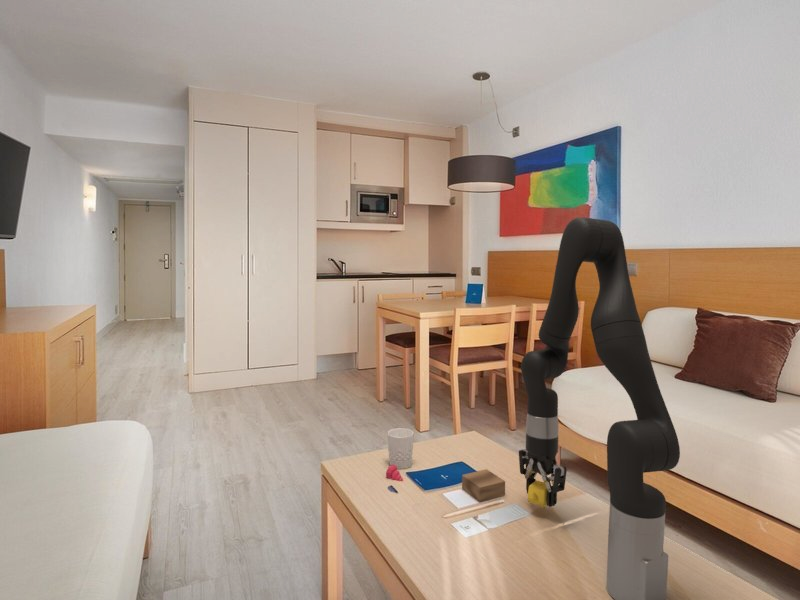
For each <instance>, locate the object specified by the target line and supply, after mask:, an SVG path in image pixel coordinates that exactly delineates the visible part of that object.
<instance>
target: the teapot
mask: <svg viewBox="0 0 800 600" xmlns="http://www.w3.org/2000/svg"><path fill="white" fill-rule="evenodd" d="M547 491H548V490H547V487H546V483H545V482H544V481H540V480H537V479H536V481H535V482H533V483H532V484H531V485H530V486H529V489H528V494H527V502H528V503H530V505H532V506H533V505H536V506H539V507H541V508H542V509H543V508H545V507H546V506H547Z"/></svg>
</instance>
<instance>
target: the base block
mask: <svg viewBox="0 0 800 600" xmlns="http://www.w3.org/2000/svg"><path fill="white" fill-rule="evenodd" d="M461 489H462V490H464V491H465V492H466V493H468V494H469V495H470V496H471V497H473V498H474V499H475V500H477V501H478V502H479V503H481V502H484V503H486V502H485V501H488V500H492V499H495V500H497V499H496V498H499V497H503V496H506V481H505V480H504V479H502V478H501V477H500V476H498V475H497V474H494V473H493V472H492V471H490V470H489V469H482V470H477V471H473V472H469V473H465V474H464V473H463V474H462V475H461ZM462 490H461V491H462ZM465 492H464V493H465ZM466 493H465V494H466ZM469 495H468V496H469ZM470 496H469V497H470ZM471 497H470V498H471ZM503 498H504V497H503ZM474 499H473V500H474ZM499 499H500V498H499ZM475 500H474V501H475ZM492 501H493V500H492ZM478 502H477V503H478ZM488 502H489V501H488ZM479 503H478V504H479ZM481 504H482V503H481Z"/></svg>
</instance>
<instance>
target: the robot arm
mask: <svg viewBox="0 0 800 600" xmlns="http://www.w3.org/2000/svg"><path fill="white" fill-rule="evenodd" d="M626 255H627V254H626V249H625V243H624V238H623V234H622V231H621V229H620V228H619V226H618V225H617V224H616V223H615V222H613V221H610V220H608V219H607V220H606V219H601V218H600V219H598V218H591V217H583V216H582V217H580V216H579V217H576V218H573V219H571V220H570V221H569V222H568V224H566V227H564V230H563V233H562V237H561V239H560V244H559V249H558V254H557V260H556V265H555V270H554V277H553V282H552V289H551V293H550V298H549V302H548V305H547V308H546V311H545V314H544V316H543V319H542V322H541V324H540V328H539V330H538V338H539V340H540V342H542V344H544V345H545V348H544V349H540V350H539V349H538V350H531V351H528V352H526V353H525V354H524V356H523V357H522V360H521V364H520V371H521V376H522V379H523V383H524V387H525V391H526V394H527V395H526V396H527V410H526V411H527V415H526V421H525V448H524V449H520V450H518V460H519V463H518V464H519V473H520V474H521V475H524V478H525V480H526V481H525V482H526V483H525V489H526V494H527V495H528V489H529V486H530V485H531V484H532V483H533V482H535V481H536V480H537V479H536V476H537V474H539V475H540V476H541V477H542V478H541V479H542V482H545V483H546V487H547V490H548V491H547V505H546V506H547V507H549V508H552V507H555V506H556V504H557V503H558V500H557V499H558V498H557V497H558V493H559V492H562V491H565V489H566V488H565V486H566V479H567V471H568V470H567V467H566V466H563V465H562V466H561V465H559V464H558V463H557V459H556V456H557V455H558V452H559V417H558V416H559V415H558V413H559V407H558V406H559V396H558V393H557V392H556V390H554V389H553V388H552V389H551V388H548V387H547V385H546V380H549V379H551V380H552V379H556V378H559V377H560V376H561V375H562V374H563V373H564V371H565V370H566V368H567V365H568V360H569V359H568V357H569V349H570V348H569V346H570V345H569V343H570V340H571V337H572V335H573V333H574V330H575V326H576V324H577V321H578V317H579V311H580V310H579V309H580V308H579V301H578V294H577V287H576V286H577V285H576V281H577V276H578V273H579V270H580V268H581V266H582V264H583V262H585V263H593V264H594V266H595V269H596V272H597V276H598V277H597V278H598V282H599V283H598V284H599V289H598V294H597V298H596V301H595V304H594V307H593V310H592V312H591V317H590V330H591V335H592V339H593V343H594V346H595V351H596V353H597V357H598V359H599V360H600V362H601V363H602V364H603V366H604V367H605V368H606V369H607V371H609V373H610V374H611V375H612V376H613V377H614V378H615V380H616V381H617V382H619V384H620V385H621V386H622V387H623V388H624V390H625V391H626V393H627V395H628V397H629V398H630V401H631V403H632V406H633V408H634V412H635V415H636V419H632V420H619V421H615V422H614V423H613V424H612V425H611V426H610V427H609V430H608V433H607V440H606V460H607V461H606V466H607V467H606V470H607V471H606V474H607V475H606V476H607V486H608V489H609V513H608V514H609V516H608V537H607V560H606V561H607V563H606V581H605V582H606V585H605V586H606V588H605V589H606V590H607V593H608V594H609V596H611V598H613V600H667V589H668V586H667V585H668V571H669V569H668V568H669V567H668V566H669V554H668V553H666V552H665V551H664V539H665V528H666V527H665V525H666V510H667V509H666V505H667V500H666V496H665V495H664V494H663V492H662V491H661V490H660V489H658V488H656V487H654V486H653V485H650V484H648V483H646V482H644V473H645V474H646V473H653V472H654V473H655V472H664V471H670V470H672V469H674V468H675V467H676V466H678V463H679V462H680V456H681V449H680V448H681V447H680V442H679V439H678V435H677V431H676V429H675V426H674V424H673V422H672V421H673V420H672V418H671V415H670V413H669V410H668V408H667V406H666V403H665V400H664V397H663V395H662V392H661V389H660V387H659V384H658V380H657V377H656V373H655V370H654V367H653V363H652V360H651V356H650V353H649V350H648V345H647V340H646V335H645V331H644V329H643V325H642V322H641V321H642V320H641V318H640V315H639V312H638V309H637V304H636V300H635V297H634V292H633V288H632V284H631V280H630V274H629V269H628V268H629V267H628V262H627V261H628V260H627V256H626ZM549 475H550V476H549Z"/></svg>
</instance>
